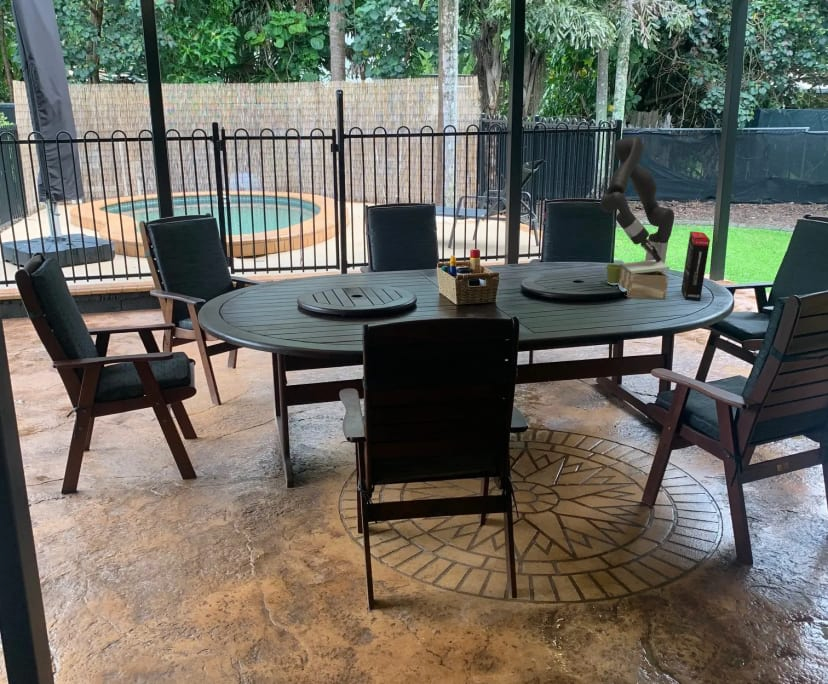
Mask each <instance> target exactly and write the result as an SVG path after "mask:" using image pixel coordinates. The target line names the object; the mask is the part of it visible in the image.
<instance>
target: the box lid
mask: <svg viewBox="0 0 828 684" xmlns="http://www.w3.org/2000/svg"><path fill="white" fill-rule="evenodd" d="M618 265H619V266H621V267H622V268H623V269H624V270H626V271H627V272H628V273H630V274H636V273H644V272H653V271H662V270H664V271H670V266H669V265H668V264H666V263H665V264H664V263H663V262H661V261H659V262H656V260H649V261H645V260H642V261H631V262H624V263H619V264H618Z"/></svg>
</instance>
